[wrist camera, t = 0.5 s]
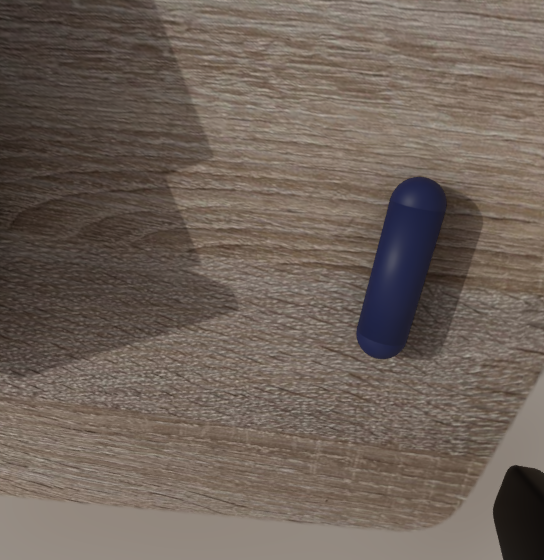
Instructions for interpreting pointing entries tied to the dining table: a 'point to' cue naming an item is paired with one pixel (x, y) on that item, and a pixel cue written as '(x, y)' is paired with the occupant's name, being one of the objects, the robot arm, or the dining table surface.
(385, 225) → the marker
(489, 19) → the dining table surface
